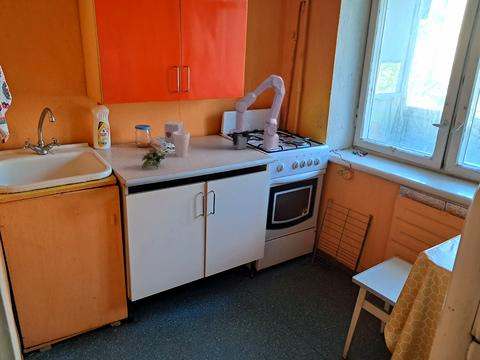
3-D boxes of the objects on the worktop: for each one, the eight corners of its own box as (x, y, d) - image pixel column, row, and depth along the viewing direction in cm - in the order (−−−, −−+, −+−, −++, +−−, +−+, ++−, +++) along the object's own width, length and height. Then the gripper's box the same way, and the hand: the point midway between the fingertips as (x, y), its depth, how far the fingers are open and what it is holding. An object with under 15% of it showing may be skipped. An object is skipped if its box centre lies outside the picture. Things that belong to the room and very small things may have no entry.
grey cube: (240, 145, 238) (241, 135, 235) (246, 148, 234) (247, 138, 231) (232, 146, 234) (233, 136, 232) (238, 149, 230) (239, 139, 227)
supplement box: (164, 147, 228) (163, 123, 223) (170, 144, 237) (169, 120, 231) (178, 149, 227) (178, 124, 221) (184, 145, 235) (183, 121, 230)
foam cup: (169, 155, 213) (169, 133, 209) (179, 152, 221) (179, 130, 217) (183, 158, 209) (183, 135, 205) (193, 154, 217) (193, 132, 213)
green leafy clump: (153, 174, 199) (164, 154, 201) (161, 177, 190) (172, 156, 192) (135, 165, 193) (146, 144, 195) (142, 167, 184) (153, 145, 186)
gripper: (245, 119, 236) (244, 141, 240) (226, 121, 227) (226, 143, 232) (252, 121, 230) (251, 143, 235) (233, 124, 222) (232, 146, 227)
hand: (239, 143), depth 233 cm, fingers closed on grey cube, 6 cm apart
